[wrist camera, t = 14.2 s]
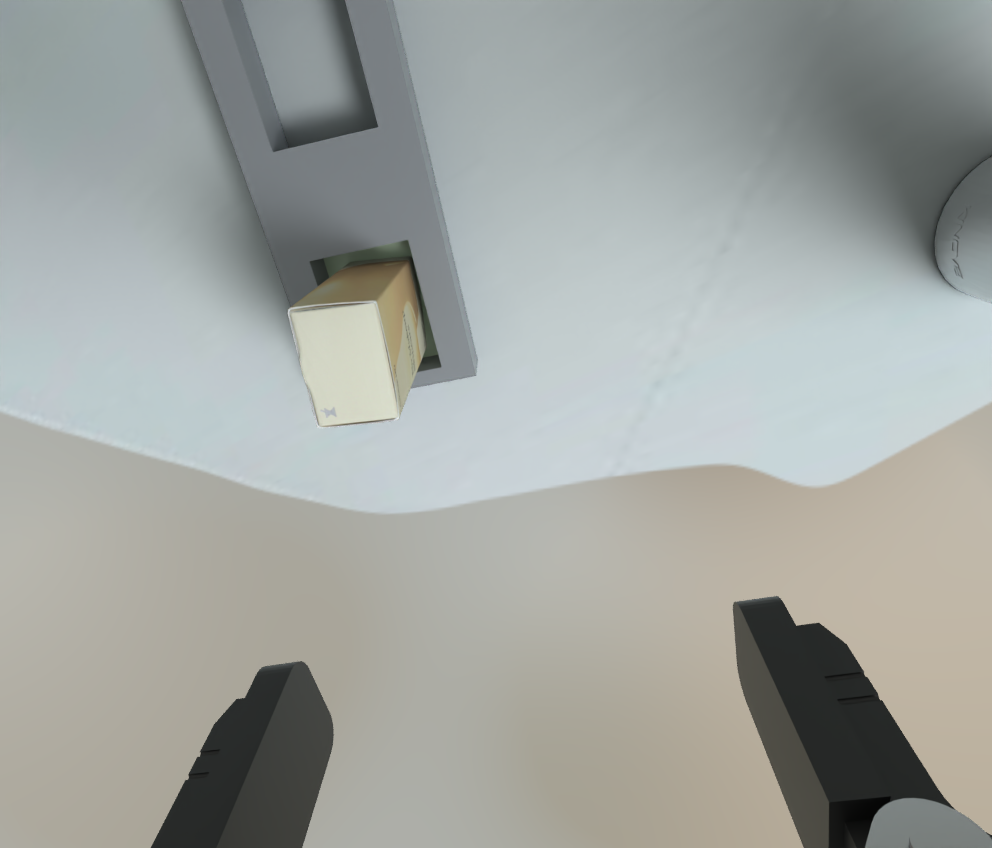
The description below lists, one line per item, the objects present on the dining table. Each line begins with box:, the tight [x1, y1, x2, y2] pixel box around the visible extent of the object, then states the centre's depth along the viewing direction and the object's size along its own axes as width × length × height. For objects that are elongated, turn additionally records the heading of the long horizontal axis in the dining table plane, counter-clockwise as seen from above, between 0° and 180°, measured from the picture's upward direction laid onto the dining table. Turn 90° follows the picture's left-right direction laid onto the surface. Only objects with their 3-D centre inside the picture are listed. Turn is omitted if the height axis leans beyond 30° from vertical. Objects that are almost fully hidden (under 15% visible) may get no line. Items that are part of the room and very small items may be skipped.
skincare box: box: [287, 256, 427, 428], centre depth 35 cm, size 6×4×12 cm
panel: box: [181, 0, 478, 389], centre depth 36 cm, size 10×24×3 cm, turn 12°
